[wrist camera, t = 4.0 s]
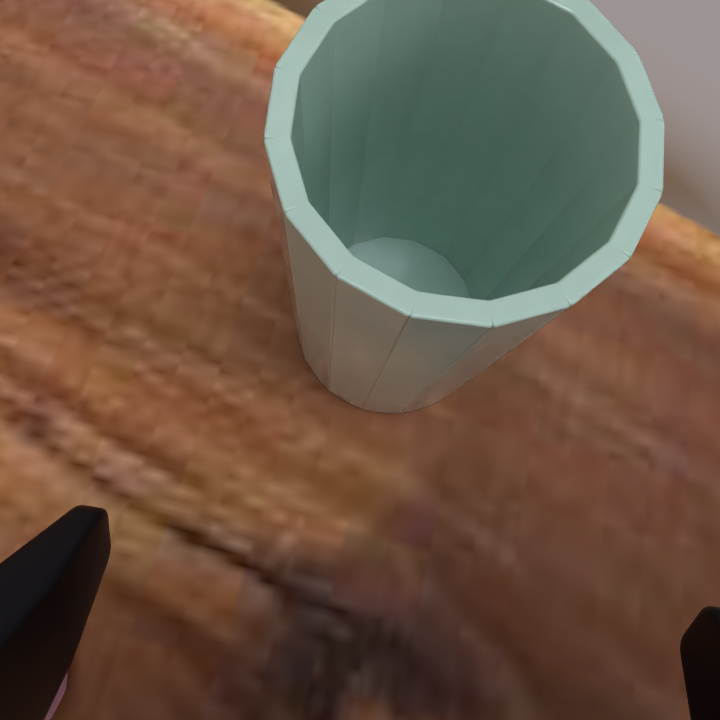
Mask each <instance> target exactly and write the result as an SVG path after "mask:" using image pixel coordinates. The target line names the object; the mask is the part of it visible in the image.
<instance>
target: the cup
mask: <svg viewBox="0 0 720 720" xmlns="http://www.w3.org/2000/svg"><path fill="white" fill-rule="evenodd" d="M636 53H637V52H636V50H635V49H634V48H633V47H632V46H631V45H630V43H629V42H628V41H627V40H626V39H625V38H624V37H623V36H622V35H621V34H620V33H619V32H618V30H617V29H616V28H615V27H614V26H613V25H612V24H611V23H610V22H609V21H608V20H607V19H606V17H605V16H604V15H603V14H602V13H601V12H600V11H599V10H598V9H597V8H596V7H595V6H594V4H593V3H592V2H591V1H590V0H324V1H323V2H321V3H319V4H318V5H317V6H316V7H315V8H314V9H313V10H312V11H311V13H310V14H309V16H308V17H307V19H306V20H305V22H304V23H303V25H302V26H301V28H300V29H299V31H298V32H297V34H296V35H295V37H294V38H293V40H292V41H291V43H290V44H289V46H288V47H287V49H286V50H285V52H284V53H283V55H282V56H281V58H280V59H279V61H278V62H277V64H276V68H275V69H274V72H273V78H272V85H271V91H270V98H269V104H268V110H267V117H266V123H265V129H264V136H263V137H264V147H265V153H266V159H267V165H268V171H269V176H270V182H271V188H272V194H273V200H274V206H275V212H276V217H277V223H278V229H279V235H280V241H281V247H282V253H283V258H284V264H285V270H286V276H287V282H288V288H289V293H290V299H291V305H292V311H293V317H294V323H295V327H296V331H297V334H298V338H299V342H300V346H301V349H302V352H303V356H304V358H305V360H306V362H307V363H308V365H309V367H310V368H311V370H312V371H313V373H314V374H315V376H316V377H317V378H318V379H319V380H320V381H321V383H322V384H323V385H324V386H325V387H326V388H327V389H329V390H330V391H331V392H332V393H333V394H335V395H336V396H338V397H339V398H341V399H342V400H344V401H346V402H348V403H350V404H352V405H354V406H356V407H359V408H362V409H366V410H369V411H375V412H380V413H402V412H408V411H413V410H417V409H420V408H423V407H426V406H429V405H431V404H434V403H437V402H439V401H440V400H442V399H443V398H445V397H446V396H447V395H449V394H450V393H452V392H453V391H454V390H456V389H457V388H459V387H460V386H461V385H463V384H464V383H465V382H467V381H468V380H470V379H471V378H472V377H474V376H475V375H477V374H478V373H479V372H481V371H482V370H484V369H485V368H486V367H488V366H489V365H491V364H492V363H493V362H495V361H496V360H498V359H499V358H500V357H502V356H503V355H504V354H506V353H507V352H509V351H510V350H511V349H513V348H514V347H516V346H517V345H518V344H520V343H521V342H523V341H524V340H525V339H527V338H528V337H530V336H531V335H532V334H534V333H535V332H537V331H538V330H539V329H541V328H542V327H543V326H545V325H546V324H548V323H549V322H550V321H552V320H553V319H555V318H556V317H557V316H559V315H560V314H562V313H563V312H564V311H566V310H567V309H569V308H570V307H571V306H573V305H574V304H575V303H576V302H578V301H579V300H580V299H581V298H583V297H584V296H585V295H586V294H588V293H589V292H590V291H591V290H593V289H594V288H595V287H596V286H598V285H599V284H600V283H601V282H603V281H604V280H605V279H606V278H607V277H609V276H610V275H611V274H612V273H614V272H615V271H616V270H617V269H619V268H620V267H621V266H622V265H624V264H625V263H626V262H627V261H628V260H629V258H630V257H631V256H632V254H633V252H634V250H635V248H636V246H637V244H638V242H639V240H640V238H641V236H642V234H643V232H644V230H645V228H646V226H647V224H648V222H649V220H650V218H651V216H652V214H653V212H654V210H655V208H656V206H657V204H658V202H659V200H660V198H661V195H662V190H663V165H664V129H665V128H664V127H665V123H664V121H663V120H664V117H663V115H662V112H661V110H660V107H659V104H658V102H657V99H656V97H655V94H654V92H653V90H652V87H651V84H650V82H649V79H648V77H647V74H646V72H645V69H644V67H643V64H642V62H641V59H640V57H639V55H638V54H636Z"/></svg>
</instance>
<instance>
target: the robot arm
mask: <svg viewBox="0 0 720 720" xmlns="http://www.w3.org/2000/svg"><path fill="white" fill-rule="evenodd" d="M110 549H111V542H110V532H109V521H108V514H107V512H106V510H105V509H102V508H97V507H91V506H85V505H79V506H76V507H74V508H73V509H71V510H70V511H69V512H67V513H66V514H65V515H63V516H62V517H61V518H59V519H58V520H57V521H56V522H54V523H53V524H52V525H50V526H49V527H48V528H46V529H45V530H44V531H42V532H41V533H40V534H38V535H37V536H36V537H34V538H33V539H32V540H31V541H29V542H28V543H27V544H25V545H24V546H23V547H21V548H20V549H19V550H17V551H16V552H15V553H13V554H12V555H11V556H9V557H8V558H7V559H5V560H4V561H3V562H2V563H0V720H44V719H45V717H46V715H47V713H48V711H49V709H50V707H51V705H52V703H53V701H54V699H55V697H56V694H57V692H58V690H59V688H60V686H61V684H62V682H63V680H64V678H65V676H66V674H67V671H68V669H69V667H70V665H71V662H72V660H73V658H74V655H75V652H76V650H77V647H78V644H79V641H80V639H81V636H82V633H83V630H84V627H85V625H86V622H87V619H88V616H89V613H90V610H91V608H92V605H93V602H94V599H95V596H96V594H97V591H98V588H99V585H100V582H101V579H102V577H103V574H104V571H105V568H106V565H107V562H108V559H109V555H110ZM680 653H681V660H682V666H683V672H684V679H685V685H686V691H687V698H688V704H689V710H690V716H691V720H720V608H719V607H713V606H708V607H705V608H703V609H702V610H701V612H700V613H699V614H698V616H697V617H696V618H695V620H694V621H693V622H692V624H691V625H690V627H689V628H688V629H687V631H686V632H685V633H684V635H683V637H682V640H681V645H680Z"/></svg>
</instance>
